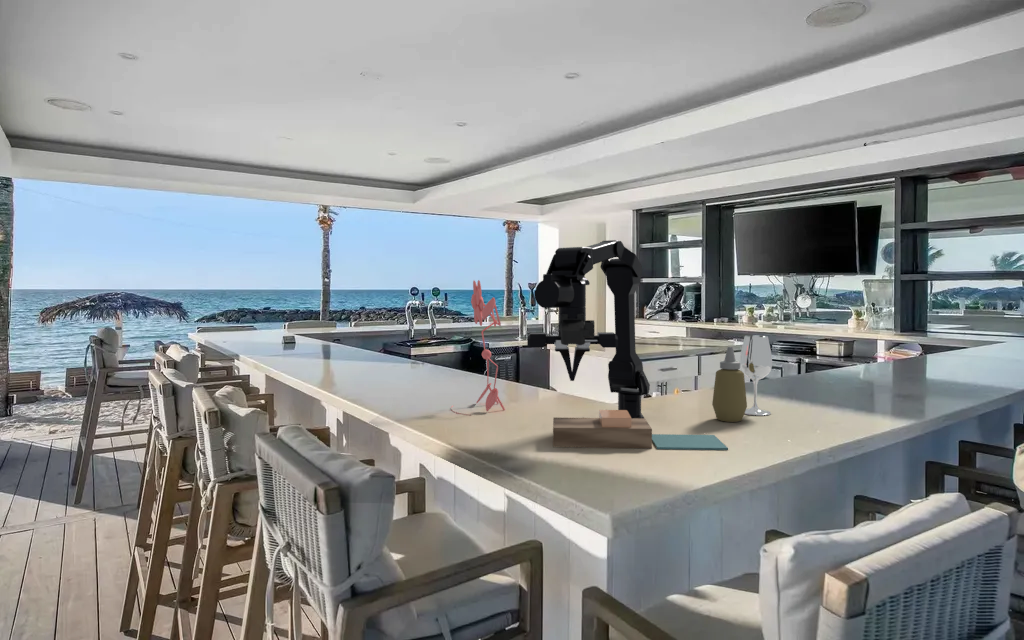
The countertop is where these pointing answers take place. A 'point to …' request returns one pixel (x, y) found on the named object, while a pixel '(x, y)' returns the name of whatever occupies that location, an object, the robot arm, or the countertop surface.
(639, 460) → the countertop surface
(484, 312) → the figurine
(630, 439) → the platform
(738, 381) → the squeeze bottle
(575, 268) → the robot arm
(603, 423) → the tile
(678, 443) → the mat
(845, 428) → the countertop surface
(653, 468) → the countertop surface
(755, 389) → the wineglass
